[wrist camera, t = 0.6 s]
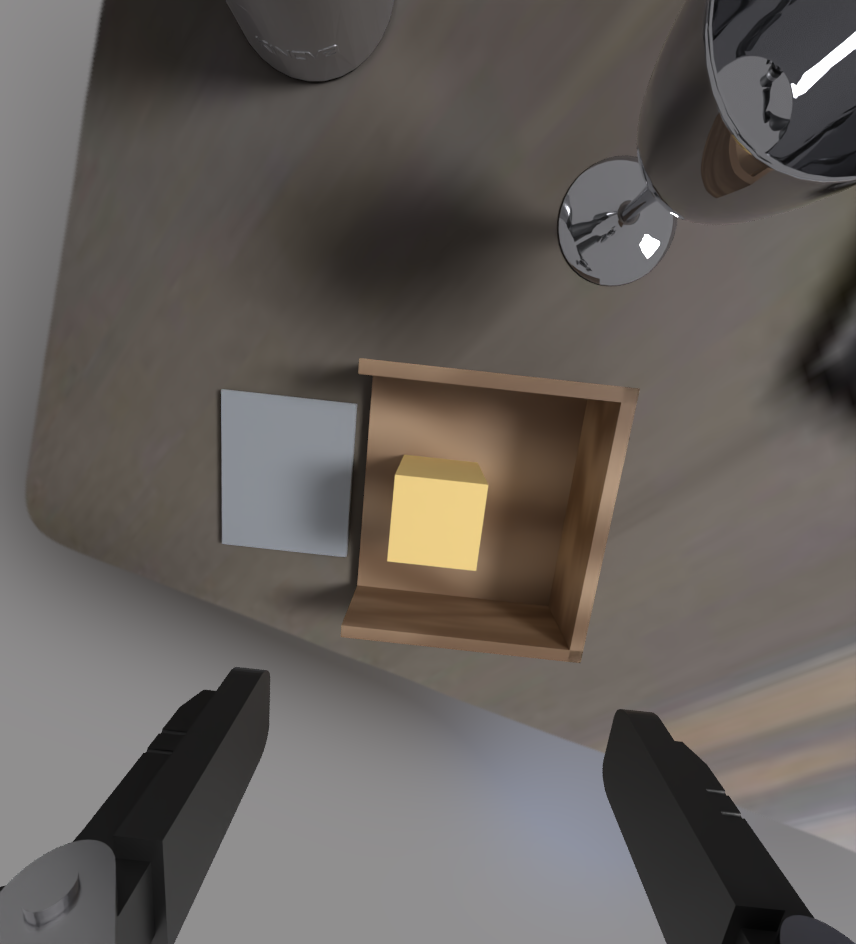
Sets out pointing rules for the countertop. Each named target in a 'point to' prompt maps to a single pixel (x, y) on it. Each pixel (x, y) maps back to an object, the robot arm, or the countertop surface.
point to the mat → (286, 472)
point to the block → (437, 513)
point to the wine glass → (723, 132)
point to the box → (494, 508)
